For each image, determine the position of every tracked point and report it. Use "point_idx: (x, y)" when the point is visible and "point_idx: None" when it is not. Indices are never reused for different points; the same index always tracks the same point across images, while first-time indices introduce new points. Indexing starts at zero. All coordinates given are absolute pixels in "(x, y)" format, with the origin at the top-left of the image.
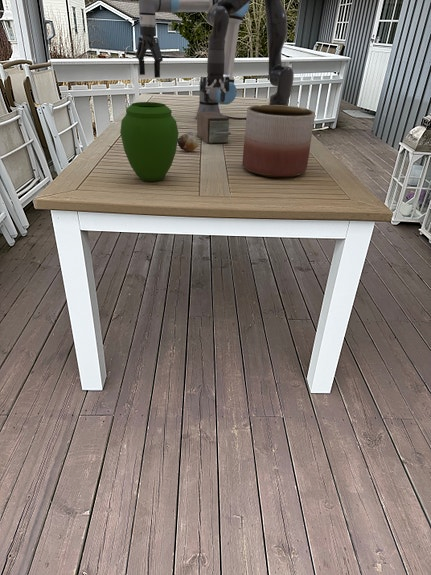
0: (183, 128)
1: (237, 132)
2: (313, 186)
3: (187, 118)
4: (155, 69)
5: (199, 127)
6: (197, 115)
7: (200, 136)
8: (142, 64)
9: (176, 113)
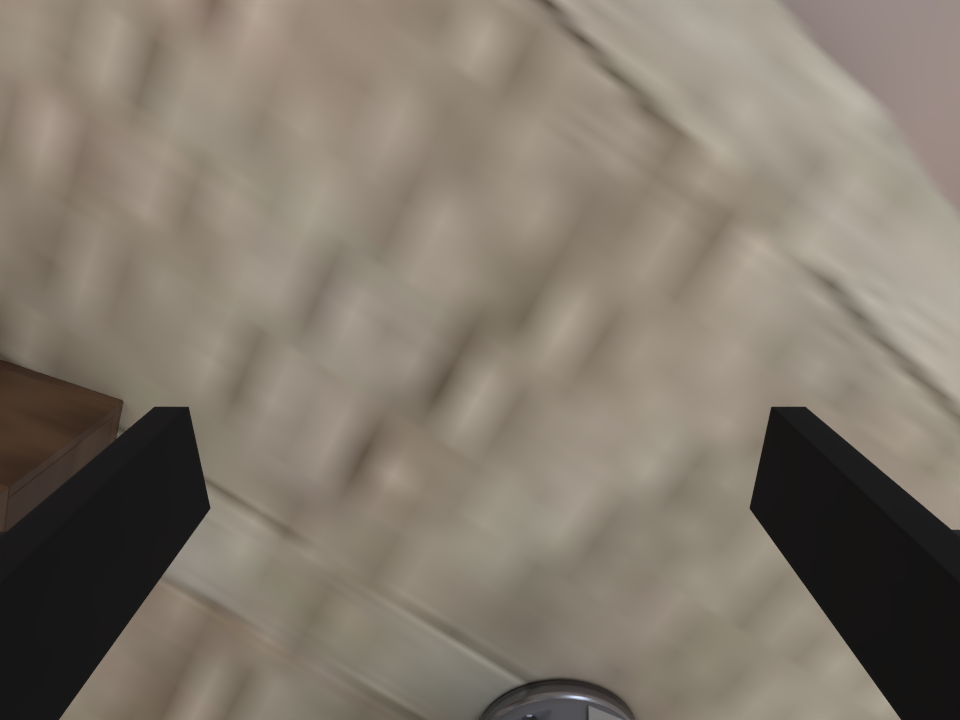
0: (374, 456)
1: (136, 650)
2: None
3: (645, 653)
4: (38, 512)
5: (14, 412)
6: (20, 477)
7: (29, 377)
8: (896, 628)
9: (827, 687)
